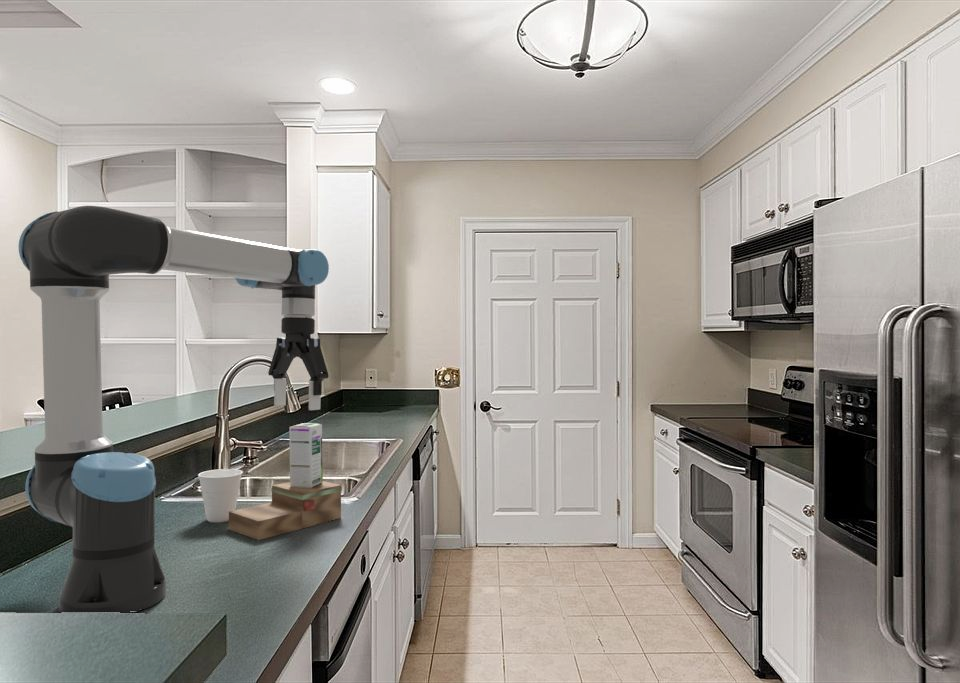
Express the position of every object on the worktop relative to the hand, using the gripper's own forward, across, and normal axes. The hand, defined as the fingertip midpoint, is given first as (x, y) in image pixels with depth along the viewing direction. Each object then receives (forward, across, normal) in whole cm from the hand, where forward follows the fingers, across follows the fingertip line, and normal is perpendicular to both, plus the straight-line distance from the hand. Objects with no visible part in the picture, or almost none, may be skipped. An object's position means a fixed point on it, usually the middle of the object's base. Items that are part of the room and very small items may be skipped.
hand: (296, 407), depth 152 cm
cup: (+27, +15, +10) cm, 33 cm away
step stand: (+27, 0, +2) cm, 27 cm away
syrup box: (+19, 0, -3) cm, 19 cm away
